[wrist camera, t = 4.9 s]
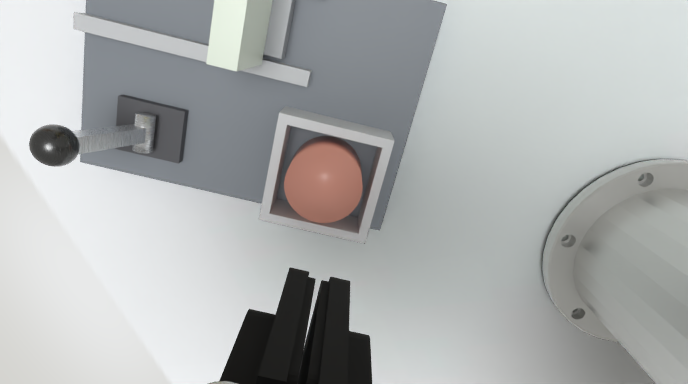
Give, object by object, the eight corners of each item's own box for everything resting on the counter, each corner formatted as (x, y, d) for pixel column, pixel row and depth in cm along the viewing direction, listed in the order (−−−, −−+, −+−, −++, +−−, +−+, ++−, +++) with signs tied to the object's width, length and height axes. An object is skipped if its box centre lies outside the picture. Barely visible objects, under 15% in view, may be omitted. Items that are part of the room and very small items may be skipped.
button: (369, 145, 24) (371, 159, 21) (351, 209, 26) (351, 230, 23) (299, 128, 24) (292, 140, 21) (285, 194, 25) (277, 213, 22)
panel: (441, 6, 23) (457, 0, 20) (378, 220, 28) (382, 247, 24) (106, -83, 22) (58, -107, 19) (94, 155, 26) (54, 173, 23)
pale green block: (298, -14, 21) (278, -34, 16) (282, 67, 23) (259, 77, 17) (238, -30, 21) (195, -56, 15) (226, 53, 23) (183, 58, 17)
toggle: (166, 118, 23) (50, 131, 17) (162, 154, 24) (49, 178, 18) (139, 109, 23) (18, 118, 18) (136, 144, 24) (19, 164, 18)
